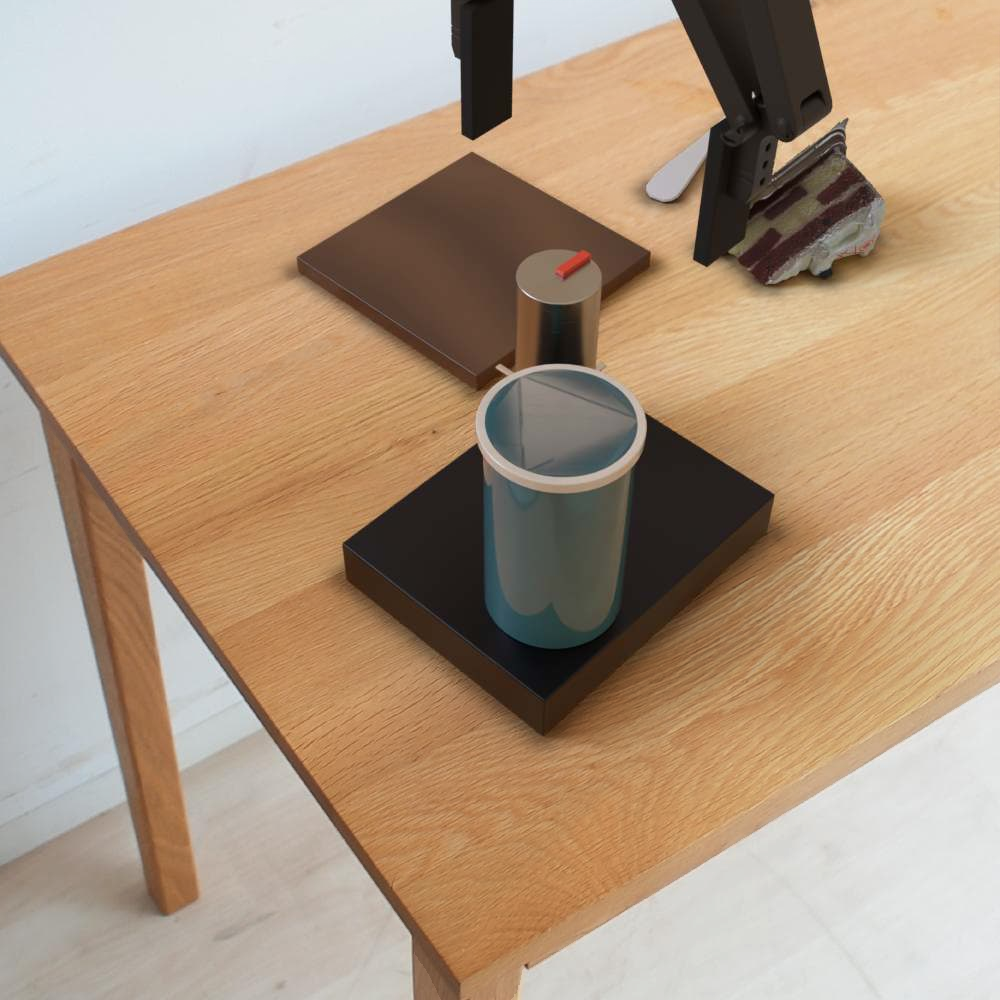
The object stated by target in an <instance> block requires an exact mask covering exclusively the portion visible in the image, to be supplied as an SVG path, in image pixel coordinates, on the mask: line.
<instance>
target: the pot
mask: <svg viewBox="0 0 1000 1000" xmlns="http://www.w3.org/2000/svg"><path fill="white" fill-rule="evenodd" d="M644 412H645V411H644V408H643V406H642V404H641V402H640V401H639V399H638V397H637V396H636V395H635V394H634V393H633V391H632V390H630V388H629V387H627V385H625V384H624V383H623V382H621V381H619V380H618V379H617V378H615V377H612V376H611V375H609V374H607V373H605V372H603V371H598V370H595V369H591V368H588V367H583V366H578V365H570V364H546V365H540V366H534V367H530V368H526V369H523V370H520V371H518V372H515V371H514V373H513V374H511V375H509V376H505V377H504V378H502V379H501V380H499V381H498V382H497V383H495V384H494V385H493V386H491V388H490V389H488V391H487V392H486V394H485V395H484V397H483V398H482V399H481V401H480V403H479V405H478V407H477V411H476V415H475V424H474V425H475V437H476V443H478V446H479V449H480V451H481V453H482V455H483V533H484V598H485V603H486V607H487V610H488V612H489V614H490V616H491V617H492V619H493V620H494V622H495V623H496V624H497V625H498V626H499V627H500V628H501V629H502V630H503V631H504V632H505V633H506V634H508V635H509V636H511V637H512V638H514V639H516V640H518V641H520V642H522V643H525V644H528V645H531V646H535V647H539V648H546V649H564V648H570V647H575V646H579V645H582V644H585V643H587V642H589V641H591V640H593V639H595V638H597V637H598V636H600V635H601V634H602V633H603V632H605V631H606V630H607V629H608V628H609V627H610V626H611V624H612V623H613V622H614V620H615V619H616V617H617V615H618V613H619V610H620V607H621V602H622V594H623V585H624V575H625V566H626V556H627V547H628V537H629V527H630V518H631V508H632V499H633V489H634V480H635V470H636V462H637V460H638V459H639V457H640V455H641V453H642V451H643V448H644V445H645V440H646V432H647V421H646V417H645V413H646V412H645V413H644Z"/></svg>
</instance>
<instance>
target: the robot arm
mask: <svg viewBox="0 0 1000 1000" xmlns="http://www.w3.org/2000/svg"><path fill="white" fill-rule="evenodd" d="M670 1H671V3H672V5H673V7H674V10H675V11H676V14H677V16H678V18H679V20H680V22H681V24H682V26H683V29H684V30H685V33H686V35H687V37H688V39H689V42H690V43H691V46H692V48H693V50H694V52H695V54H696V56H697V59H698V60H699V63H700V65H701V67H702V69H703V71H704V74H705V75H706V76H705V77H706V78H707V80H708V82H709V84H710V87H711V89H712V90H713V93H714V95H715V97H716V99H717V101H718V103H719V106H720V109H721V110H722V112H723V114H724V116H726V118H724V119H723V120H721V119H720V120H721V121H720V120H719V121H720V122H719V121H718V122H716V123H715V124H716V125H715V124H714V125H713V126H711V127H709V128H710V129H709V130H710V135H709V143H708V150H707V157H706V158H705V166H704V173H703V179H702V180H703V181H702V189H701V195H700V204H699V210H698V216H697V224H696V225H697V226H696V234H695V239H694V247H693V255H692V260H693V261H694V262H696V263H698V264H700V265H701V266H704V267H706V268H708V267H710V266H711V265H712V264H713V263H715V262H716V261H717V260H718V259H720V258H721V257H722V256H724V255H725V254H727V252H728V251H729V250H730V249H732V248H733V247H734V246H736V245H737V244H738V243H740V242H741V241H742V240H743V239H745V234H746V228H747V222H748V216H749V210H750V204H751V199H753V198H754V197H756V196H757V195H758V194H760V193H761V192H762V191H764V190H765V189H766V188H767V186H768V185H769V183H770V182H771V180H772V175H773V174H774V168H775V160H776V158H777V157H776V156H777V151H778V145H779V141H780V142H781V143H785V144H786V143H787V144H788V143H791V142H793V141H794V140H796V139H797V138H799V137H800V136H802V135H803V134H804V133H805V132H807V131H808V130H810V129H811V128H812V127H814V126H815V125H816V124H818V123H820V122H821V121H822V120H823V119H825V118H826V117H828V116H829V115H830V114H831V112H832V110H833V107H834V106H833V99H832V98H833V97H832V93H831V89H830V85H829V79H828V76H827V71H826V67H825V62H824V58H823V53H822V49H821V44H820V40H819V36H818V31H817V26H816V23H815V18H814V14H813V13H814V12H813V9H812V5H811V0H670ZM514 14H515V0H450V25H451V26H450V33H451V34H450V35H451V37H450V38H451V40H450V41H451V43H450V45H451V49H452V52H453V56H454V58H455V59H458V60H459V61H460V64H459V65H460V66H459V67H460V68H459V69H460V133H461V136H463V137H465V138H467V139H468V140H470V141H473V142H474V141H476V140H477V139H478V138H480V137H482V136H483V135H485V134H487V133H488V132H490V131H492V130H494V129H495V128H497V127H498V126H500V125H502V124H503V123H505V122H506V121H508V120H510V119H511V118H513V89H514V87H513V85H514V84H513V83H514V81H513V80H514V79H513V78H514V28H515V27H514V24H515V23H514V20H515V19H514V18H515V17H514V16H515V15H514ZM753 92H754V95H755V97H754V98H752V93H753ZM728 253H729V252H728Z"/></svg>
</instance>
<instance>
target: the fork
mask: <svg viewBox="0 0 1000 1000" xmlns="http://www.w3.org/2000/svg"><path fill="white" fill-rule="evenodd" d="M754 97H755V95H754V92H753V93H752V98H754ZM724 118H726V116H725V115H723V116H722V117H721V119H719V121H718V122H720V121H721V120H723V119H724ZM716 124H717V123H715V124H714V125H716ZM709 135H710V129H708V130H707V132H706V133H704V134H703V135H701V136H700V137H699V138H698V139H697V140H695V141H694V142H693V143H692V144H691V145H689V146H688V147H686V148H685V149H684V150H683V151H681V152H680V153H679V154H677V155H676V156H675V157H673V158H672V159H671V160H669V161H668V162H667V163H666V164H665V165H664V166H663V167H661V168H660V169H659V170H657V172H656V173H655V174H654V175H653V176H652V177H651V179H650V180H649V181H648V183H647V184H646V185H645V192H646V193H647V195H648V196H649V198H651V199H654V200H656V201H658V202H662V203H667V202H672V201H674V200H676V199H678V198H679V197H680V195H682V193H683V192H684V190H685V189H686V188H687V186H688V185H689V184H690V182H691V181H692V179H693V178H694V176H695V175H696V174H697V172H698V171H699V169H700V167H701V166H702V165H703V163H704V162H705V161H706V157H707V150H708V143H709Z"/></svg>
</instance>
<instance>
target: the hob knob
mask: <svg viewBox="0 0 1000 1000" xmlns="http://www.w3.org/2000/svg"><path fill="white" fill-rule="evenodd" d="M601 288H602V274H601V271H600V269H599V267H598V266H597V264H596V263H595V262H594V261H593V260H591V254H589V253H588V252H586V251H584V250H582V251H581V252H579V253H578V252H574V251H570V250H562V249H554V250H546V251H541V252H538V253H535V254H533V255H531V256H529V257H528V258H526V259H525V260H524V261H523V262H522V263H521V264H520V266H519V267H518V269H517V272H516V300H515V363H514V373H515V372H518V371H520V370H523V369H526V368H530V367H534V366H540V365H546V364H570V365H578V366H583V367H588V368H591V369H595V370H596V366H597V359H598V357H597V356H598V345H599V343H598V342H599V330H600V318H601V317H600V316H601V302H602V301H601Z"/></svg>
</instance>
